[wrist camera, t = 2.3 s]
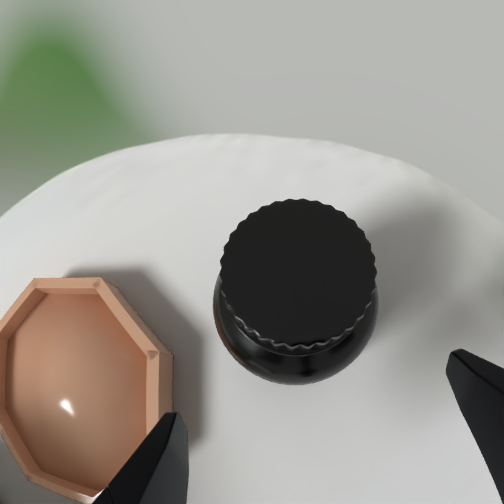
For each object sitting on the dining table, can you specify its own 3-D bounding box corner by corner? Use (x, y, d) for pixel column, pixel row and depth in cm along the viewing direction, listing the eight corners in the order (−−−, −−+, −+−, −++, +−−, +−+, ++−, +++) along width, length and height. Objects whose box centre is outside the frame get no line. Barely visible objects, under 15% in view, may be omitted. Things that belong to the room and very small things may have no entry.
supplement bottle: (365, 326, 20) (448, 258, 9) (296, 405, 18) (309, 440, 7) (288, 261, 22) (287, 142, 11) (218, 334, 21) (141, 277, 10)
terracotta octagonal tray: (224, 408, 19) (216, 411, 16) (83, 522, 15) (66, 530, 13) (88, 247, 24) (72, 234, 22) (-12, 368, 21) (-31, 364, 18)
